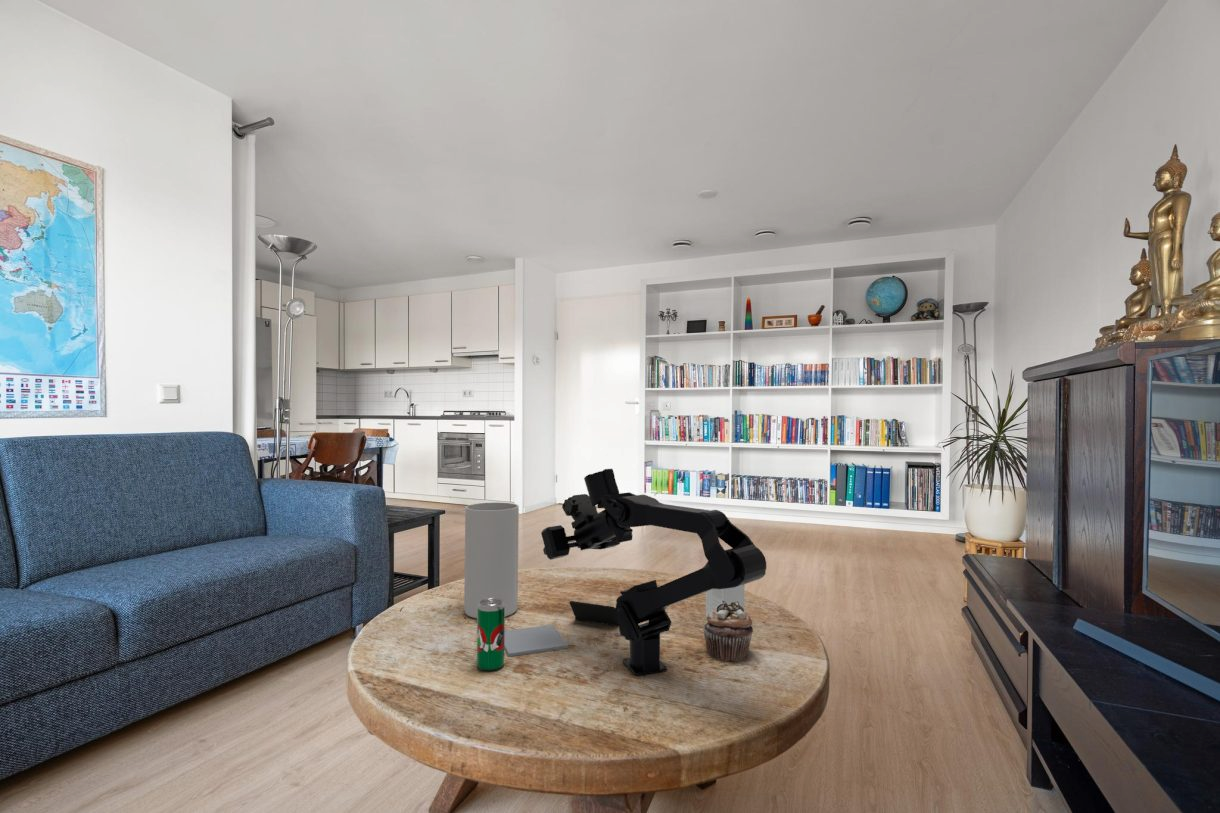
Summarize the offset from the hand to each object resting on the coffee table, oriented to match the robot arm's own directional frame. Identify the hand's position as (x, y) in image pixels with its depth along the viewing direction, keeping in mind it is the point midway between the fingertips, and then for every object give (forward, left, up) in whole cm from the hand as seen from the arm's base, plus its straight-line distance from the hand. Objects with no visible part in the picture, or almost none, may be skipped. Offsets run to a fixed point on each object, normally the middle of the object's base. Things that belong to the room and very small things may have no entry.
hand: (561, 548), depth 125 cm
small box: (-9, -36, -18) cm, 41 cm away
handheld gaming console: (+1, -9, -18) cm, 20 cm away
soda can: (-14, +18, -18) cm, 29 cm away
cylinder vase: (+16, +13, -18) cm, 27 cm away
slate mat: (-5, +8, -17) cm, 20 cm away
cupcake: (-24, -27, -18) cm, 41 cm away
